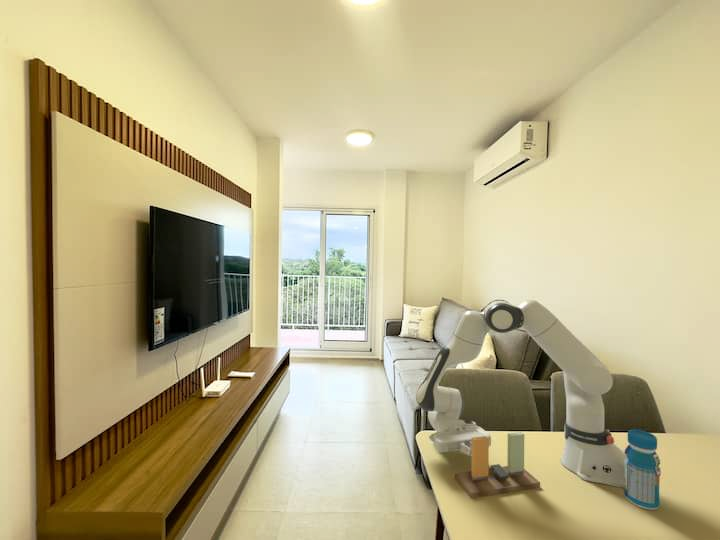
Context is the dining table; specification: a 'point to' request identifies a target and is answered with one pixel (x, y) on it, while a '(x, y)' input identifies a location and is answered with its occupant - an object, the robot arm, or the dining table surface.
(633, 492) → the beverage bottle
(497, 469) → the dark gray rocker switch
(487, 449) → the orange paddle lever
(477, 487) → the walnut switch board
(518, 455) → the sage paddle lever
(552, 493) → the dining table surface
